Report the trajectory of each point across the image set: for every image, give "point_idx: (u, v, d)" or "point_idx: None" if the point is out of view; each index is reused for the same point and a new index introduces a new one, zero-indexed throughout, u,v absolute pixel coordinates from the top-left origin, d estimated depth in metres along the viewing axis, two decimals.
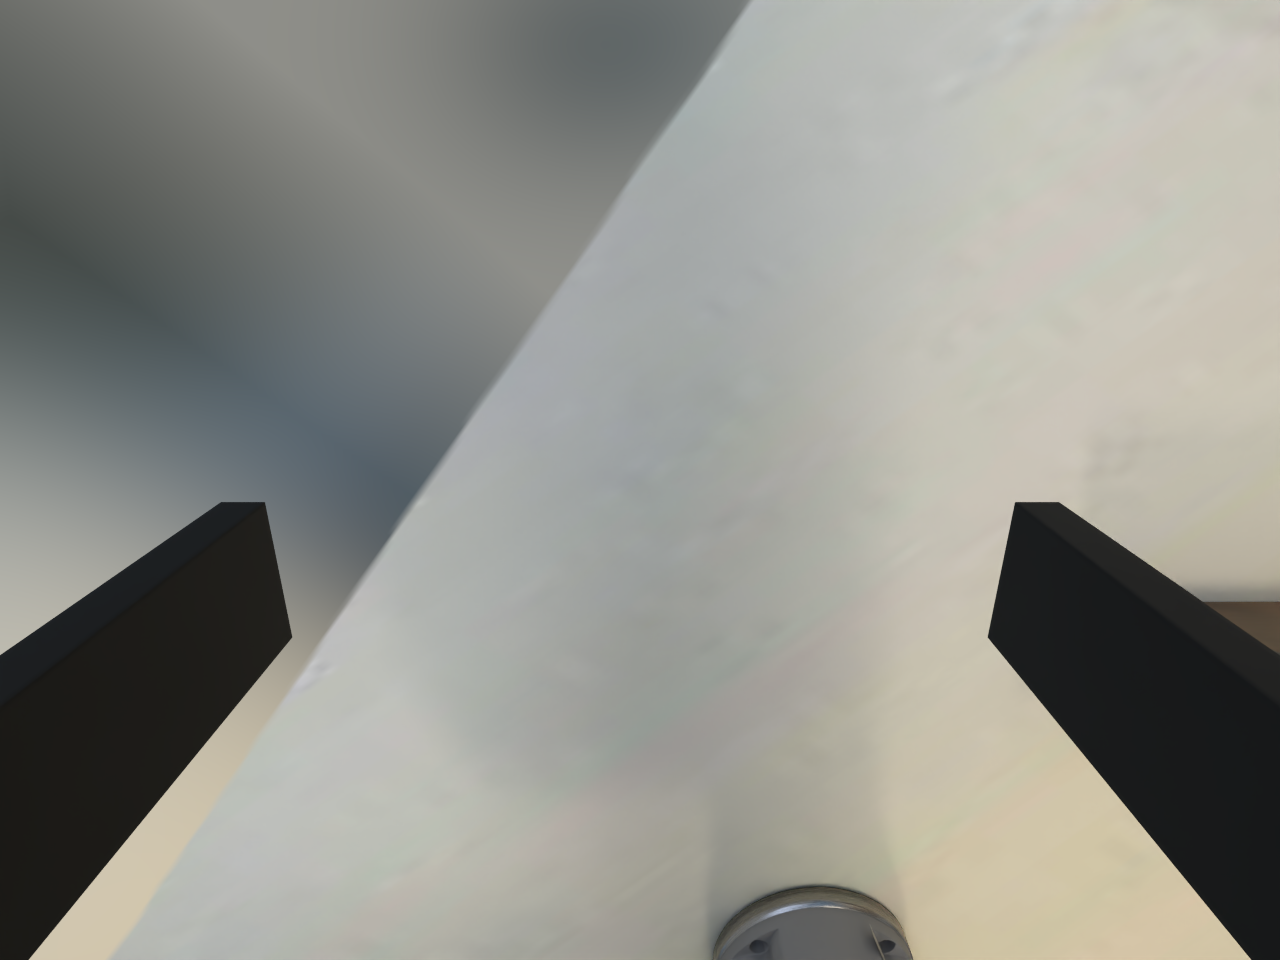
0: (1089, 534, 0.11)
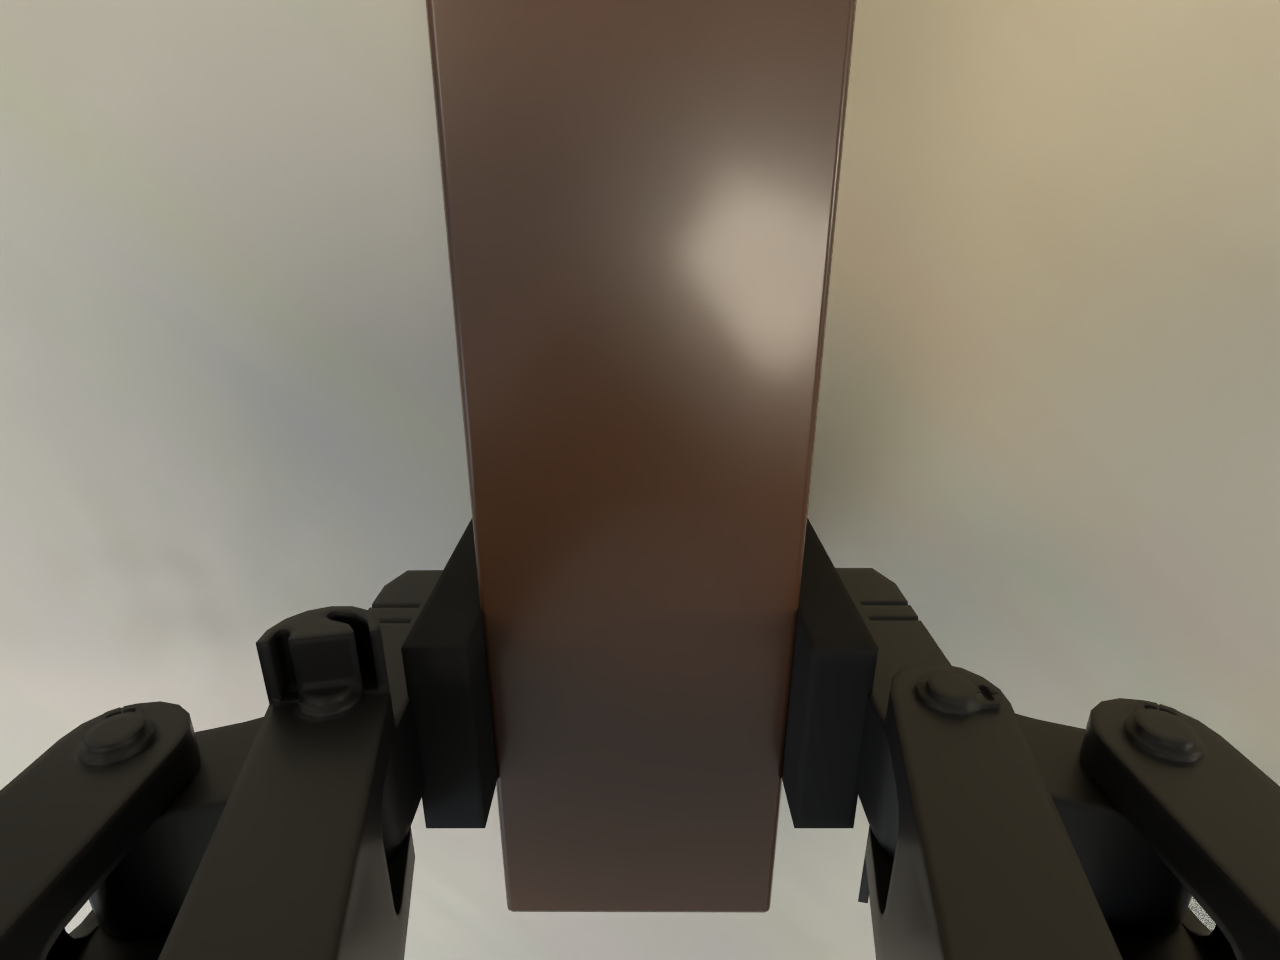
0: None
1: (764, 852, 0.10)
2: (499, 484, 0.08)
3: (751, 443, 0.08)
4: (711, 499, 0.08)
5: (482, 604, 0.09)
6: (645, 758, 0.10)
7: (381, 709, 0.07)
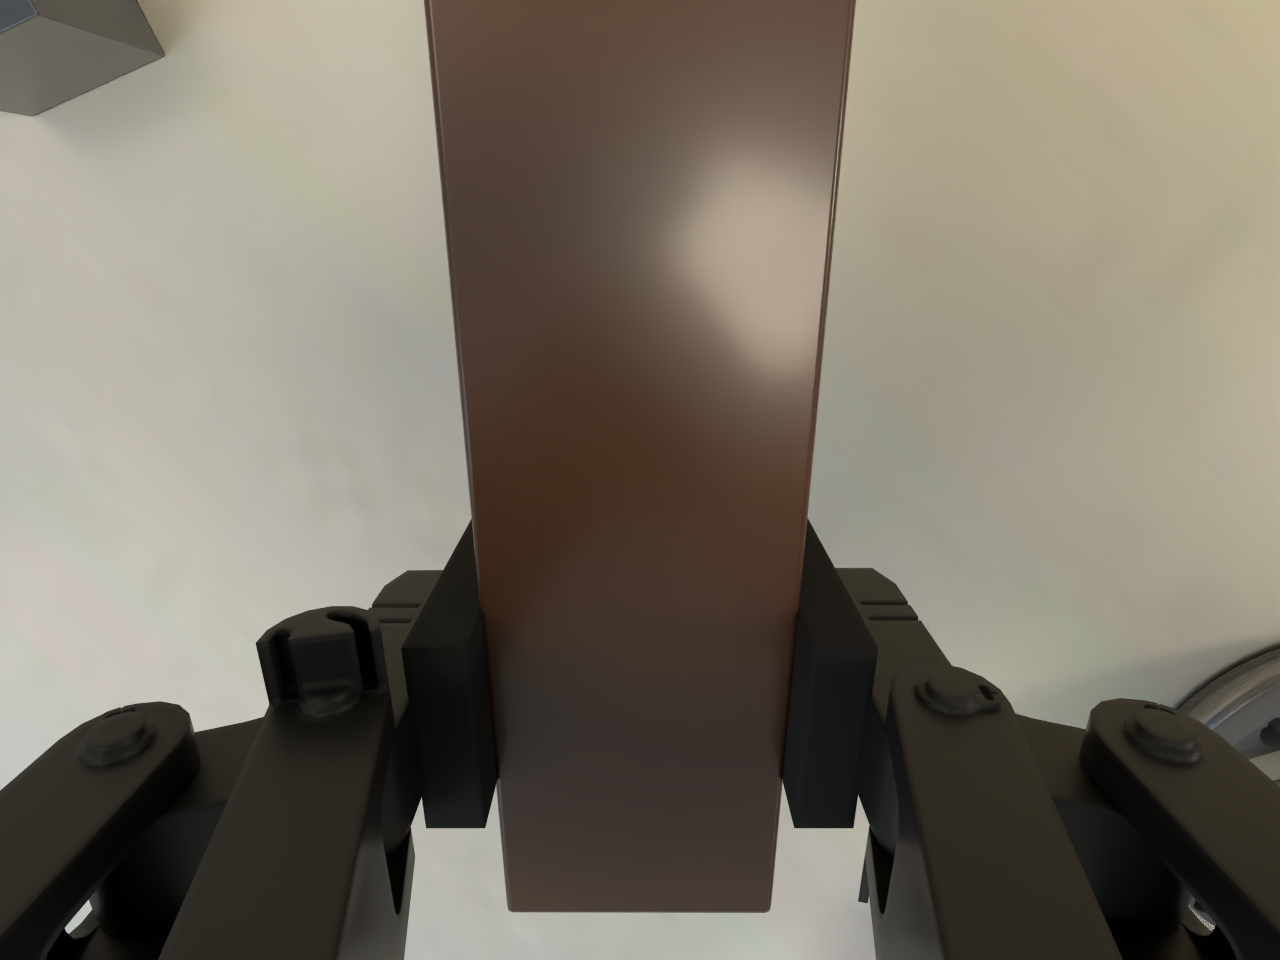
0: None
1: (765, 852, 0.10)
2: (498, 483, 0.08)
3: (751, 442, 0.08)
4: (712, 499, 0.08)
5: (482, 604, 0.09)
6: (646, 758, 0.10)
7: (381, 710, 0.07)
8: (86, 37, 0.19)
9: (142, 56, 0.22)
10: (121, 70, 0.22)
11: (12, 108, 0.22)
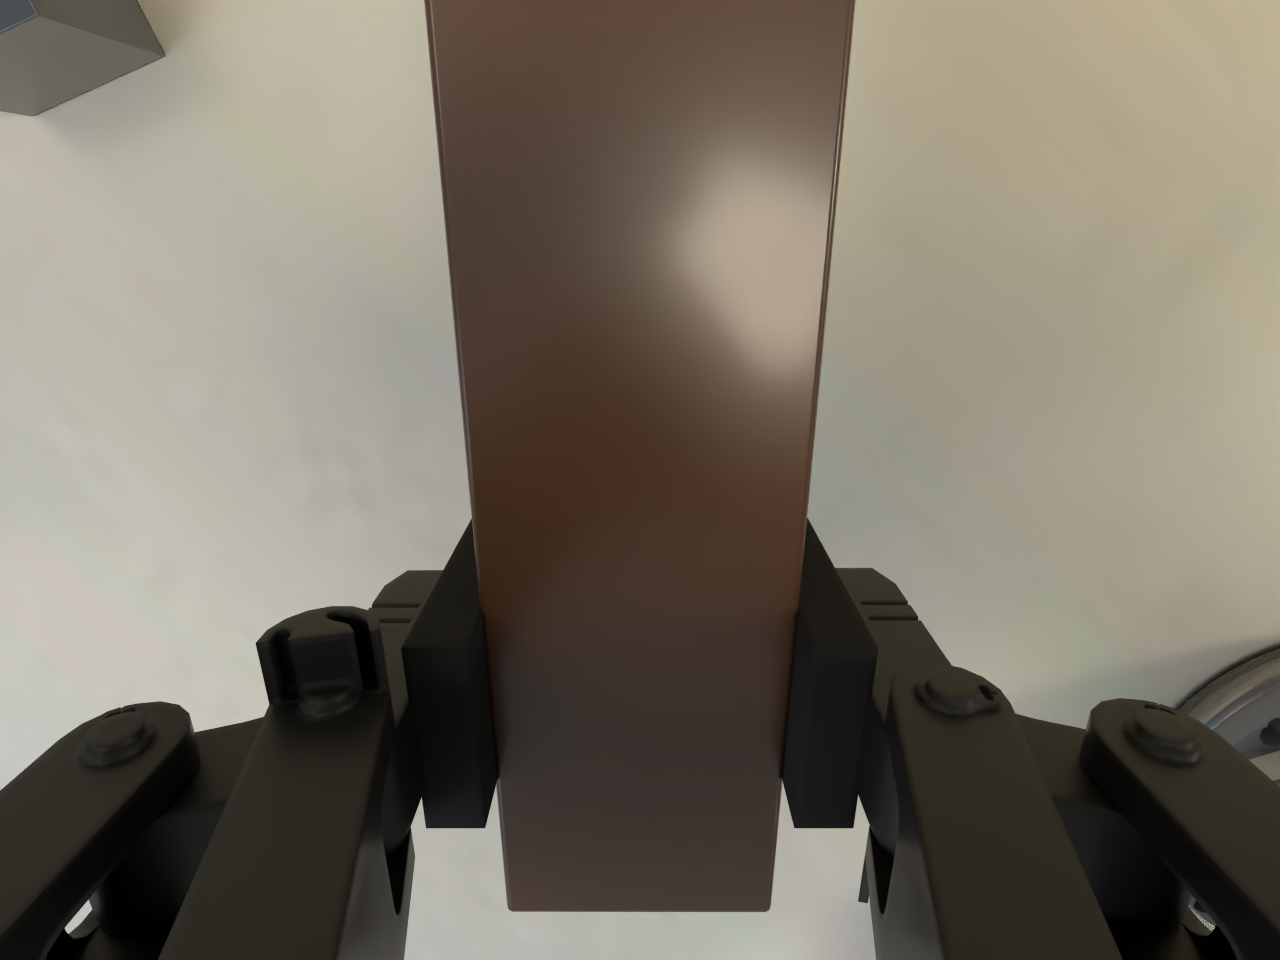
0: None
1: (765, 852, 0.10)
2: (498, 483, 0.08)
3: (751, 442, 0.08)
4: (711, 498, 0.08)
5: (482, 603, 0.09)
6: (646, 757, 0.10)
7: (381, 709, 0.07)
8: (86, 36, 0.19)
9: (142, 56, 0.22)
10: (121, 70, 0.22)
11: (12, 108, 0.22)
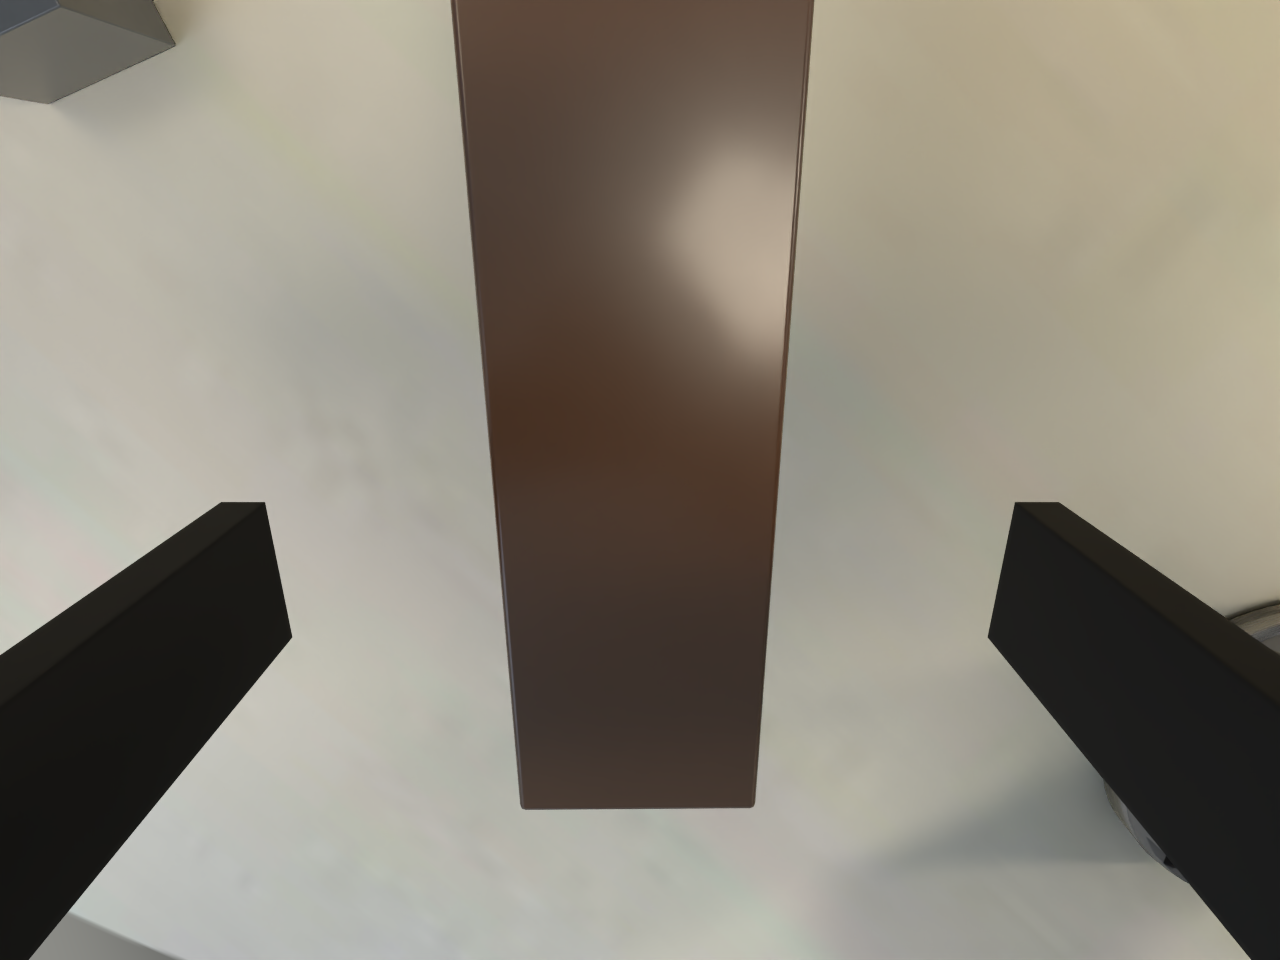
0: (1089, 534, 0.11)
1: (749, 751, 0.12)
2: (513, 414, 0.09)
3: (731, 376, 0.09)
4: (698, 427, 0.10)
5: (498, 523, 0.10)
6: (643, 663, 0.11)
7: None
8: (103, 27, 0.20)
9: (154, 45, 0.23)
10: (134, 59, 0.23)
11: (29, 96, 0.23)
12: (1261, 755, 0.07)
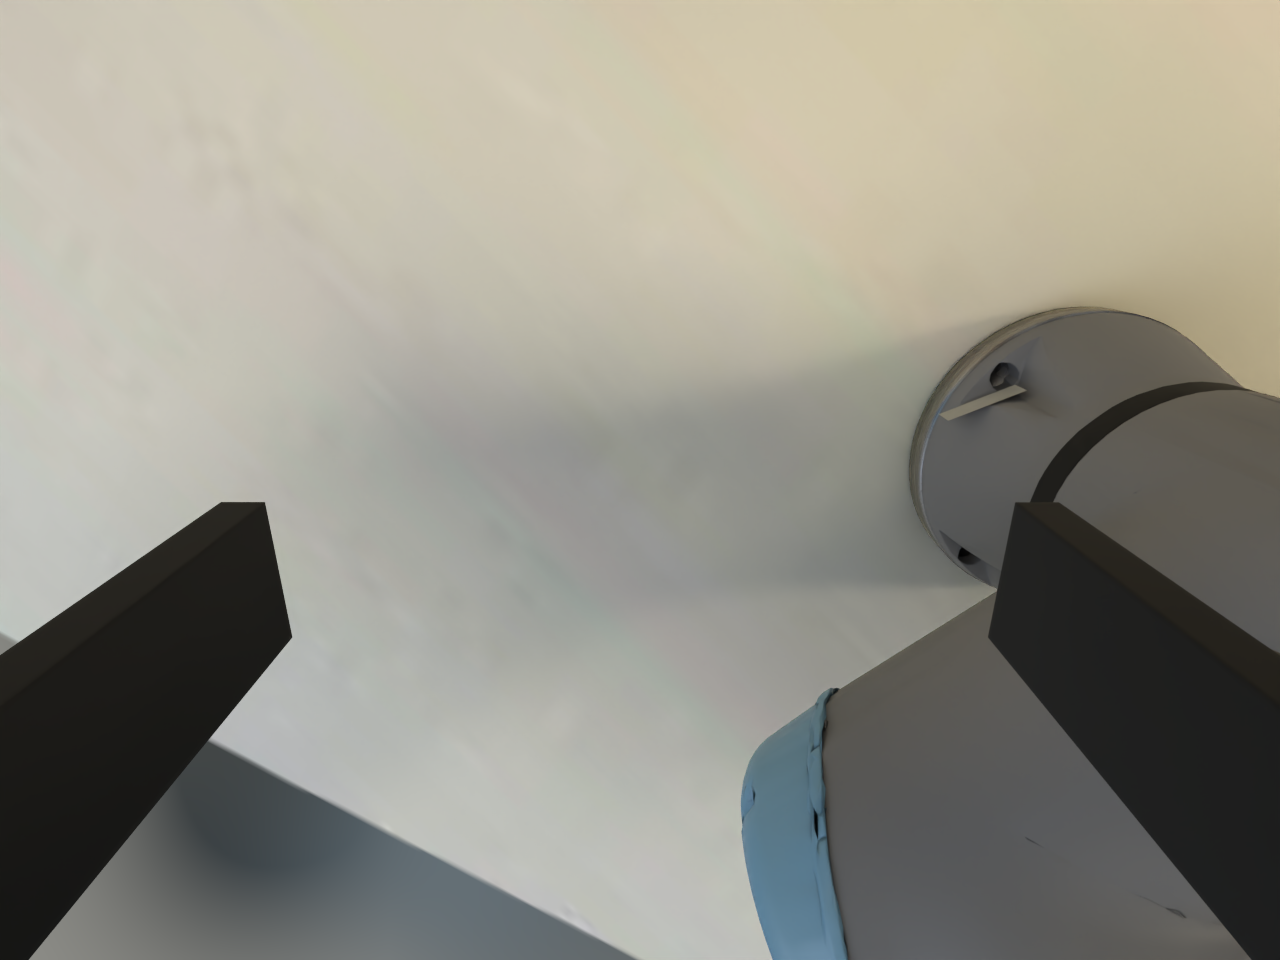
0: (1089, 534, 0.11)
1: None
2: None
3: None
4: None
5: None
6: None
7: None
8: None
9: None
10: None
11: None
12: (1262, 755, 0.07)
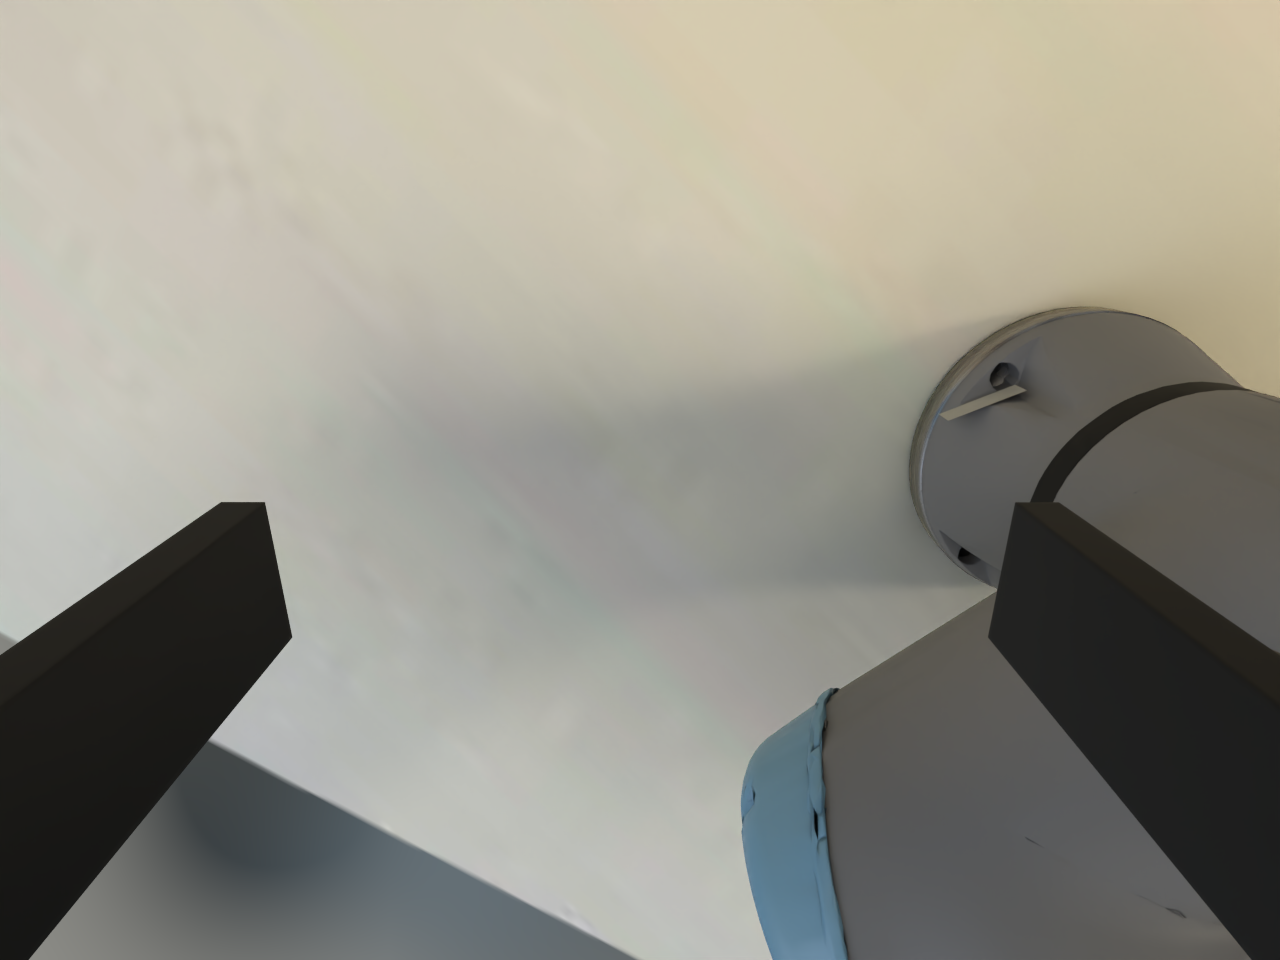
0: (1089, 534, 0.11)
1: None
2: None
3: None
4: None
5: None
6: None
7: None
8: None
9: None
10: None
11: None
12: (1262, 755, 0.07)
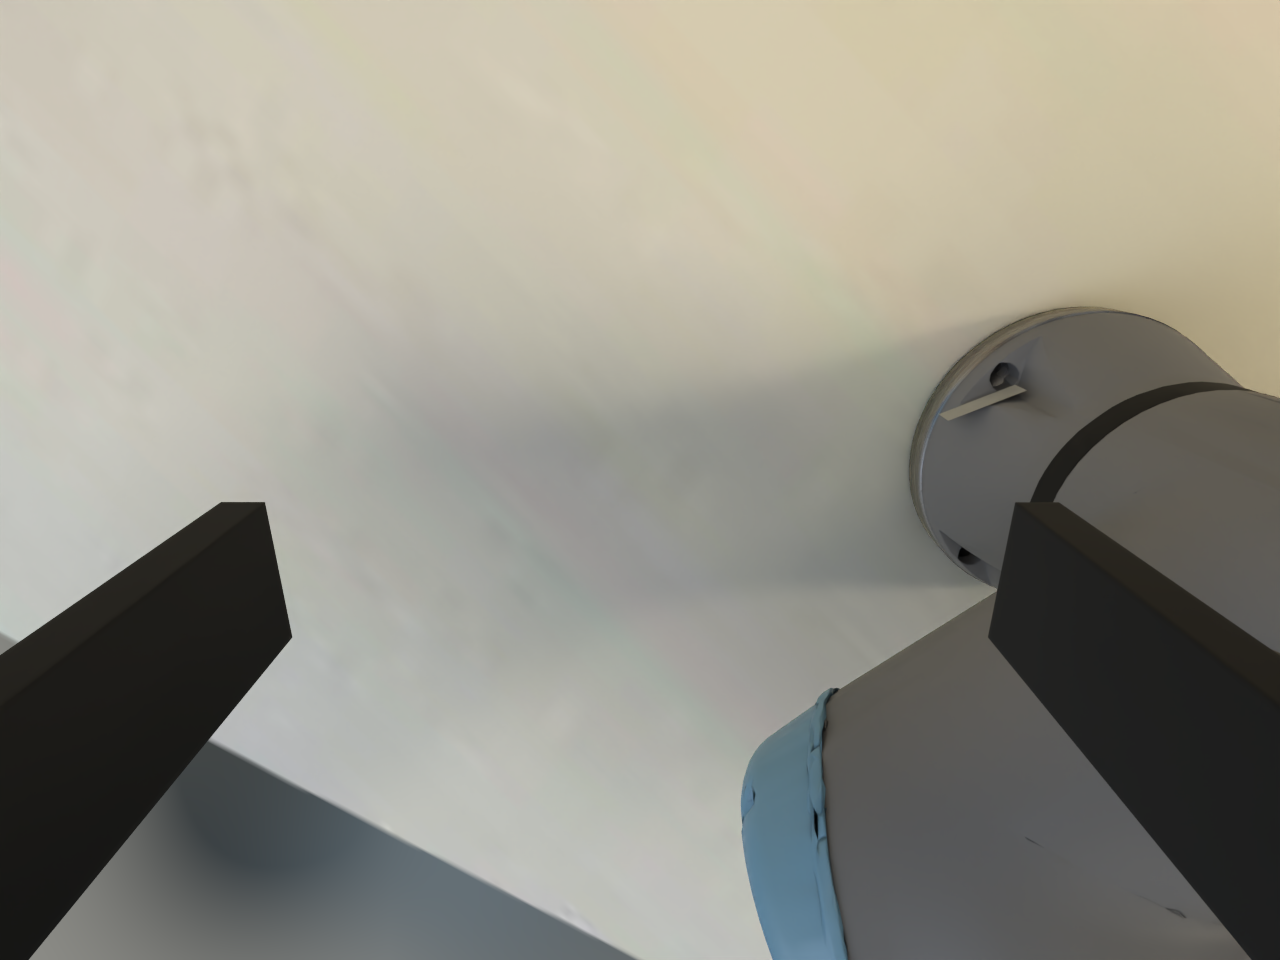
0: (1089, 534, 0.11)
1: None
2: None
3: None
4: None
5: None
6: None
7: None
8: None
9: None
10: None
11: None
12: (1262, 755, 0.07)
